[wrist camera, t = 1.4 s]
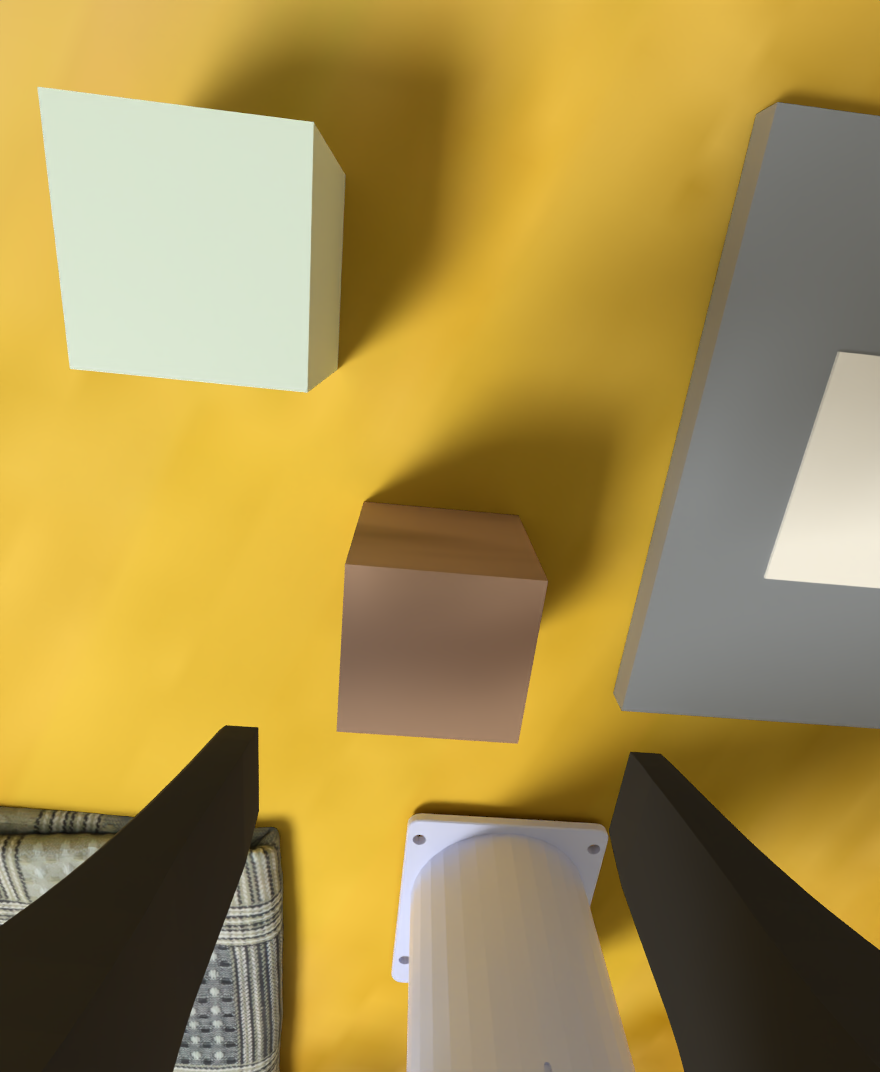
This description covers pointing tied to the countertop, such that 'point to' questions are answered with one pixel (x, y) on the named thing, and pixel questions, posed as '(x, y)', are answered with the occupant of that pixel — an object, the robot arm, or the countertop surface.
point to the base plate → (777, 452)
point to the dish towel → (240, 952)
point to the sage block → (194, 241)
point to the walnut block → (438, 624)
